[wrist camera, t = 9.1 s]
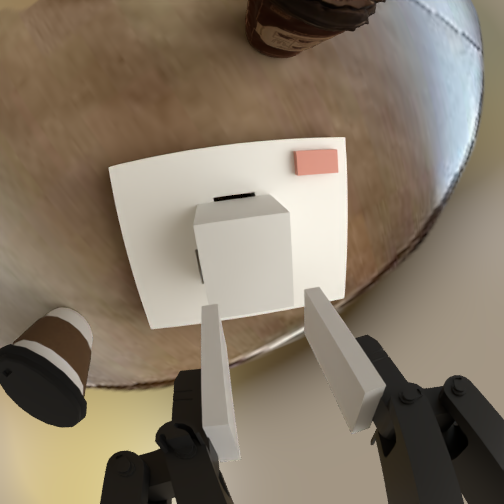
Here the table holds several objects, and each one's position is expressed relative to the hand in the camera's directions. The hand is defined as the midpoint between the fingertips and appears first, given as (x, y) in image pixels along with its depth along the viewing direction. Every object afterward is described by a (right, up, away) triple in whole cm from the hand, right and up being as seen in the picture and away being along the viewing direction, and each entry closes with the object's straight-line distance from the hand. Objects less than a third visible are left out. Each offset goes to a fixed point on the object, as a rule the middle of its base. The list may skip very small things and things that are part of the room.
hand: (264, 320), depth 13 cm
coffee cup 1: (-23, -6, +15) cm, 28 cm away
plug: (-2, +5, +13) cm, 14 cm away
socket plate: (-2, +5, +13) cm, 15 cm away
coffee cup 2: (+2, +24, +7) cm, 25 cm away
